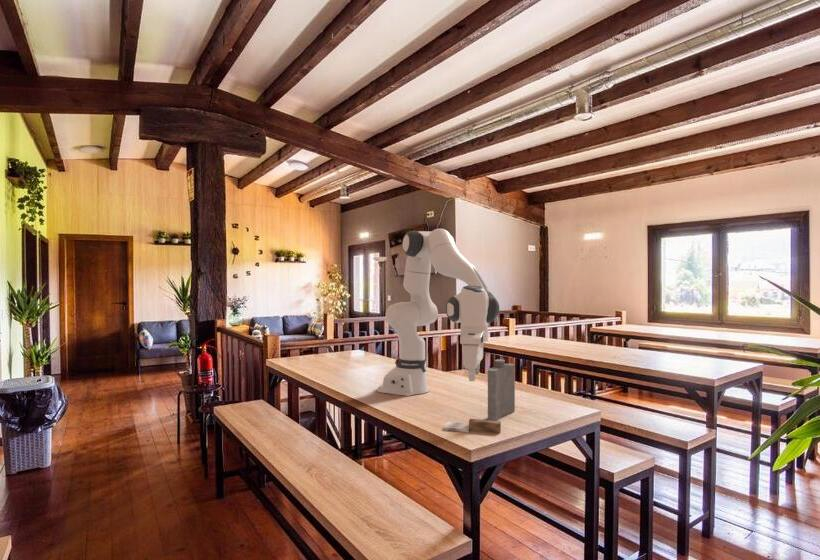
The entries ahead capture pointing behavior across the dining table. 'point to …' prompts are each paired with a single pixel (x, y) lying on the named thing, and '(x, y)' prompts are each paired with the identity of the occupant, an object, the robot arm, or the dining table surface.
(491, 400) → the hip flask
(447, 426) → the spatula
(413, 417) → the dining table surface
